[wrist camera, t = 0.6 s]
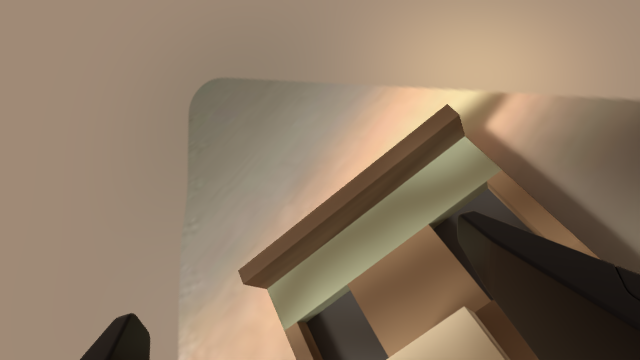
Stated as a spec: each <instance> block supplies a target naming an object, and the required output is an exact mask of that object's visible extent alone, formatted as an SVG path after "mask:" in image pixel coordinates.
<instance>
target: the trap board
mask: <svg viewBox="0 0 640 360" xmlns="http://www.w3.org/2000/svg"><path fill="white" fill-rule="evenodd" d="M472 210H473V211H477V212H479V213H482V214H484V215H487V216H489V217H492V218H495V219H497V220H500V221H502V222H505V223H508V224H510V225H513V226H515V227H518V228H520V229H523V230H526V231H528V232H531V233H533V234H536V235H538V236H541V237H544V238H546V239H549V240H551V241H554V242H557V243H559V244H562V245H564V246H567V247H569V248H572V249H575V250H577V251H580V252H582V253H585V254H587V255H590V256H593V257H595V258H598V257H597V256H596V255H595V254H594V253H593V252H592V251H591V250H590V249H589V248H587V247H586V246H585V245H584V244H583V243H582V242H581V241H580V240H579V239H578V238H576V237H575V236H574V235H573V234H572V233H571V232H570V231H569V230H568V229H567V228H565V227H564V226H563V225H562V224H561V223H560V222H559V221H558V220H557V219H556V218H554V217H553V216H552V215H551V214H550V213H549V212H548V211H547V210H546V209H545V208H543V207H542V206H541V205H540V204H539V203H538V202H537V201H536V200H535V199H534V198H532V197H531V196H530V195H529V194H528V193H527V192H526V191H525V190H524V189H523V188H521V187H520V186H519V185H518V184H517V183H516V182H515V181H514V180H513V179H512V178H510V177H509V176H508V175H507V174H506V173H505V172H504V171H503V170H502V169H501V168H499V167H498V166H497V165H496V164H495V163H494V162H493V161H492V160H491V159H490V158H488V157H487V156H486V155H485V154H484V153H483V152H482V151H481V150H480V149H479V148H477V147H476V146H475V145H474V144H473V143H472V142H471V141H470V140H469V139H468V138H466V137H465V135H464V131H463V127H462V123H461V120H460V116H459V114H458V113H457V112H456V111H454V110H453V109H452V108H451V107H450V106H449V105H448V104H447V105H446V106H444V107H443V108H442V109H441V110H439V111H438V112H437V113H435V114H434V115H433V116H432V117H430V118H429V119H428V120H427V121H425V122H424V123H423V124H422V125H420V126H419V127H418V128H417V129H415V130H414V131H413V132H412V133H410V134H409V135H408V136H407V137H405V138H404V139H403V140H402V141H400V142H399V143H398V144H397V145H395V146H394V147H393V148H392V149H390V150H389V151H388V152H387V153H385V154H384V155H383V156H381V157H380V158H379V159H378V160H376V161H375V162H374V163H373V164H371V165H370V166H369V167H368V168H366V169H365V170H364V171H363V172H361V173H360V174H359V175H358V176H356V177H355V178H354V179H353V180H351V181H350V182H349V183H348V184H346V185H345V186H344V187H343V188H341V189H340V190H339V191H338V192H336V193H335V194H334V195H333V196H331V197H330V198H329V199H327V200H326V201H325V202H324V203H322V204H321V205H320V206H319V207H317V208H316V209H315V210H314V211H312V212H311V213H310V214H309V215H307V216H306V217H305V218H304V219H302V220H301V221H300V222H299V223H297V224H296V225H295V226H294V227H292V228H291V229H290V230H289V231H287V232H286V233H285V234H284V235H282V236H281V237H280V238H279V239H277V240H276V241H275V242H273V243H272V244H271V245H270V246H268V247H267V248H266V249H265V250H263V251H262V252H261V253H260V254H258V255H257V256H256V257H255V258H253V259H252V260H251V261H250V262H248V263H247V264H246V265H245V266H243V267H242V268H241V269H240V270H238V271H239V274H240V277H241V279H242V282H243V284H245V285H250V286H254V287H259V288H264V289H267V290H268V293H269V295H270V297H271V300H272V302H273V305H274V307H275V309H276V312H277V314H278V317H279V319H280V321H281V324H282V326H283V329H284V331H285V333H286V336H287V338H288V341H289V343H290V345H291V348H292V350H293V352H294V355H295V357H296V360H386V359H388V358H389V357H391V356H392V355H394V354H395V353H397V352H398V351H400V350H401V349H403V348H404V347H405V346H407V345H408V344H410V343H411V342H413V341H414V340H416V339H417V338H419V337H420V336H422V335H423V334H424V333H426V332H427V331H429V330H430V329H432V328H433V327H435V326H436V325H438V324H439V323H441V322H442V321H443V320H445V319H446V318H448V317H449V316H451V315H452V314H454V313H455V312H457V311H458V310H460V309H461V308H462V307H464V306H465V307H466V308H468V309H469V310H471V311H473V312H474V313H475V314H476V315H477V317H478V318H479V319H480V320H481V322H482V323H483V324H484V326H485V327H486V328H487V330H488V331H489V332H490V333H491V335H492V336H493V337H494V339H495V340H496V341H497V343H498V344H499V345H500V346H501V348H502V349H503V350H504V352H505V353H506V354H507V356H508V357H509V358H510V359H511V360H539V359H538V358H537V357H536V355H535V354H534V353H533V351H532V350H531V349H530V347H529V346H528V344H527V343H526V342H525V340H524V339H523V338H522V336H521V335H520V334H519V332H518V331H517V330H516V328H515V327H514V326H513V324H512V323H511V322H510V320H509V319H508V318H507V316H506V315H505V314H504V312H503V311H502V310H501V308H500V307H499V306H498V304H497V303H496V302H495V300H494V299H493V298H492V296H491V295H490V293H489V292H488V291H487V289H486V287H485V286H484V284H483V283H482V281H481V279H480V278H479V276H478V274H477V273H476V271H475V269H474V267H473V266H472V264H471V262H470V261H469V259H468V257H467V256H466V254H465V252H464V251H463V249H462V247H461V245H460V243H459V241H458V236H457V219H458V215H459V214H461V213H464V212H468V211H472ZM598 259H600V258H598ZM600 260H601V259H600Z"/></svg>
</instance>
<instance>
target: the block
mask: <svg viewBox="0 0 640 360" xmlns="http://www.w3.org/2000/svg"><path fill="white" fill-rule="evenodd" d="M386 360H511V359H510V358H509V357H508V356H507V354H506V353H505V352H504V350H503V349H502V348H501V346H500V345H499V344H498V343H497V341H496V340H495V339H494V337H493V336H492V335H491V333H490V332H489V331H488V330H487V328H486V327H485V326H484V324H483V323H482V322H481V320H480V319H479V318H478V317H477V315H476V314H475V313H474V312H473V311H471V310H469V309H468V308H466V307H465V306H464V307H462V308H461V309H460V310H458V311H457V312H455V313H454V314H452V315H451V316H449V317H448V318H446V319H445V320H443V321H442V322H441V323H439V324H438V325H436V326H435V327H433V328H432V329H430V330H429V331H427V332H426V333H424V334H423V335H422V336H420V337H419V338H417V339H416V340H414V341H413V342H411V343H410V344H408V345H407V346H405V347H404V348H403V349H401V350H400V351H398V352H397V353H395V354H394V355H392V356H391V357H389V358H388V359H386Z"/></svg>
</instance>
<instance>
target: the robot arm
mask: <svg viewBox="0 0 640 360" xmlns="http://www.w3.org/2000/svg"><path fill="white" fill-rule="evenodd" d="M457 236H458V241H459V243H460V245H461V247H462V249H463V251H464V252H465V254H466V256H467V257H468V259H469V261H470V262H471V264H472V266H473V267H474V269H475V271H476V273H477V274H478V276H479V278H480V279H481V281H482V283H483V284H484V286H485V287H486V289H487V291H488V292H489V293H490V295H491V296H492V298H493V299H494V300H495V302H496V303H497V304H498V306H499V307H500V308H501V310H502V311H503V312H504V314H505V315H506V316H507V318H508V319H509V320H510V322H511V323H512V324H513V326H514V327H515V328H516V330H517V331H518V332H519V334H520V335H521V336H522V338H523V339H524V340H525V342H526V343H527V344H528V346H529V347H530V349H531V350H532V351H533V353H534V354H535V355H536V357H537V358H538V359H539V360H640V274H637V273H634V272H632V271H629V270H626V269H624V268H621V267H619V266H617V267H615V266H614V265H613V264H611V263H608V262H606V261H603V260H600V259H598V258H595V257H593V256H590V255H587V254H585V253H582V252H580V251H577V250H575V249H572V248H569V247H567V246H564V245H562V244H559V243H557V242H554V241H551V240H549V239H546V238H544V237H541V236H538V235H536V234H533V233H531V232H528V231H526V230H523V229H520V228H518V227H515V226H513V225H510V224H508V223H505V222H502V221H500V220H497V219H495V218H492V217H489V216H487V215H484V214H482V213H479V212H477V211H473V210H472V211H468V212H464V213H461V214H459V215H458V219H457ZM149 355H150V336H149V332H148V331H147V329H146V328H145V327H144V325H143V324H142V323H141V321H140V320H139V319H138V317H137V316H136V315H135V314H133V313H130V314H127V315H123V316H120V317H118V318H116V319H115V320H114V321H113V322H112V323H111V324H110V325H109V326H108V328H107V329H106V330H105V331H104V332H103V333H102V335H101V336H100V337H99V338H98V339H97V340H96V341H95V343H94V344H93V345H92V346H91V347H90V349H89V350H88V351H87V352H86V353H85V354H84V355H83V357H82V358H81V359H80V360H149V358H150V356H149Z"/></svg>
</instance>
